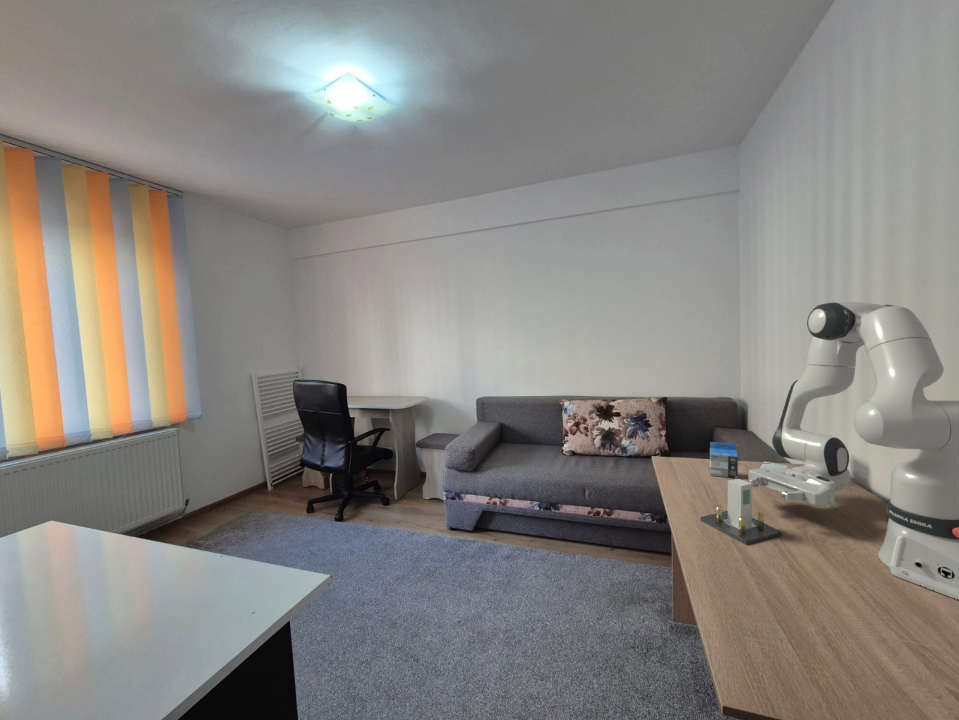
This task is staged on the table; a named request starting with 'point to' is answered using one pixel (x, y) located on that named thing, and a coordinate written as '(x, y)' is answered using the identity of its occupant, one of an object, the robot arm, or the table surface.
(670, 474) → the table surface
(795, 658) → the table surface
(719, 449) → the label tape box
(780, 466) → the hard drive
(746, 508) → the block
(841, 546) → the table surface
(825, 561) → the table surface
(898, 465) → the robot arm
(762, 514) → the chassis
